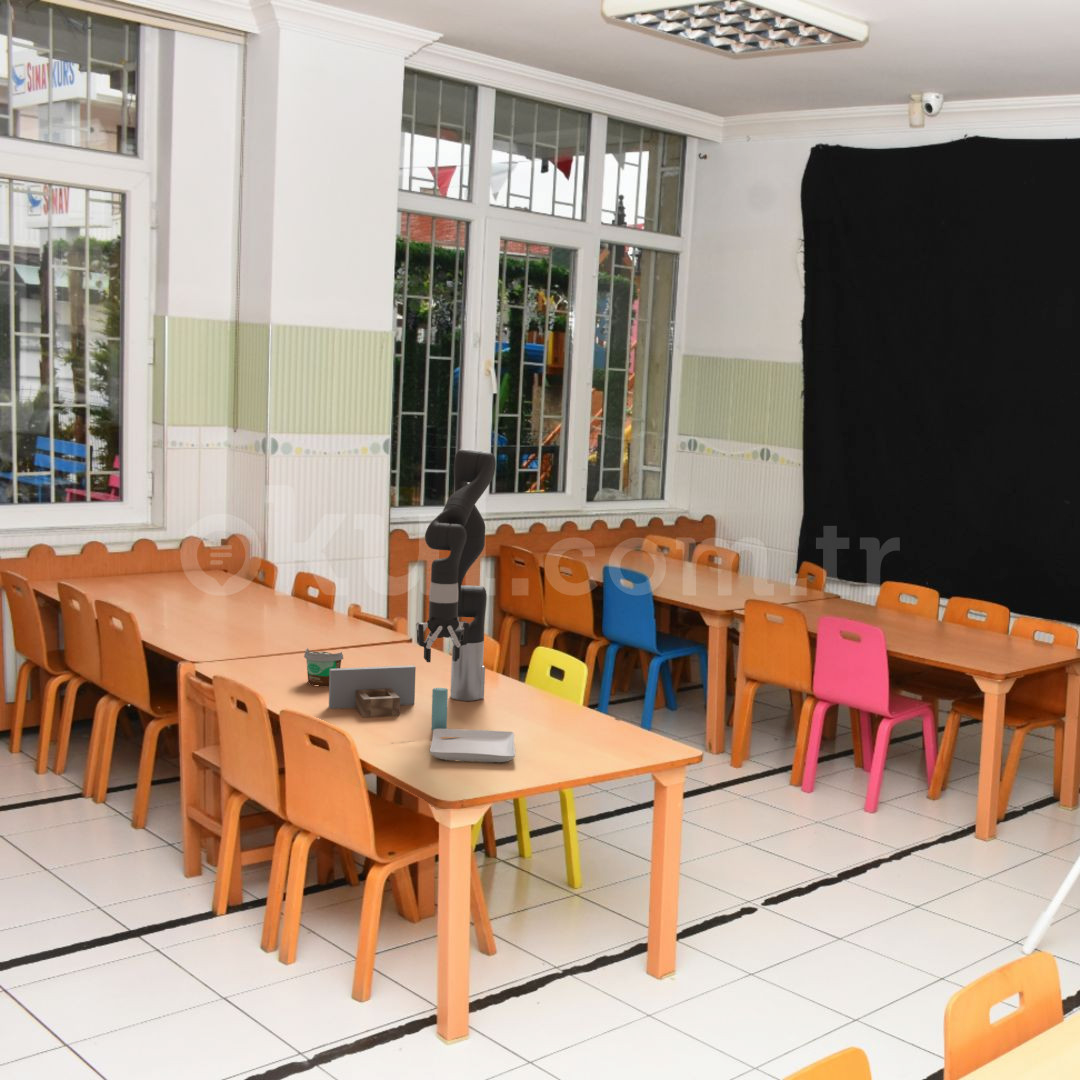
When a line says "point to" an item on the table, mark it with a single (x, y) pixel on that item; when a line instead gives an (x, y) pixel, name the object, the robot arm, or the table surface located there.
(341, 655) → the food container
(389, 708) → the block
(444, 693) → the teal rounded bar piece
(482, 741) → the salad plate
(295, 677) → the table surface
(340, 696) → the backstop wall
